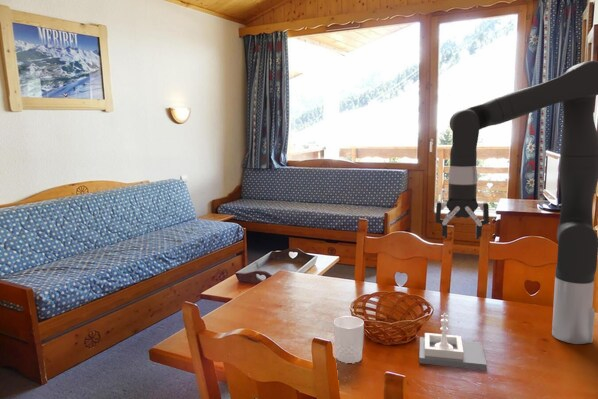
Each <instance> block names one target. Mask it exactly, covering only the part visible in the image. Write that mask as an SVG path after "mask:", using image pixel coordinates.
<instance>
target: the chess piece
mask: <svg viewBox="0 0 598 399" xmlns="http://www.w3.org/2000/svg"><path fill="white" fill-rule="evenodd" d="M440 317H441V319H440V324H441V327H440V328H439V330H440V331H441V334H442V337H441V342H439V343H436V344H435V346H434V347H437V348H447V349H453V346H452V345H450V344H448V342H447V336H446V335H447V331H448V332H449V328H448V327H447V326H448V323H449V319H447V318H449V315H448V314H446V312H444V313H443V314H441V315H440Z"/></svg>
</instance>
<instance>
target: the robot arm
mask: <svg viewBox="0 0 598 399" xmlns="http://www.w3.org/2000/svg"><path fill="white" fill-rule="evenodd" d="M596 96H598V60H587V61H583V62H580V63H578V64H574V65H573V66H571V67H570V68H567V70H566V71H565V72H564V73H563V74H561V75H560V76H557V77H555V78H552V79H549V80H547V81H545V82H542V83H539V84H536V85H532V86H528V87H525V88H522V89H518V90H514V91H512V92H508V93H505V94H503V95H501V96H497V97H494V98H492V99H490V100H487V101H486V102H483V103H481V104H477V105H474V106H469V107H467V108H465V109H464V108H463V109H461V110H458V111H455V113H454V114H453V115H452V116H451V118H450V120H449V127H450V128H449V129H450V130H451V132H452V138H451V139H452V145H451V148H450V151H449V152H450V153H449V169H448V170H449V171H448V178H447V179H448V187H447V188H448V191H447V194H448V196H447V201H446V202H441V201H439V200H438V201H437V202H436V206H435V208H436V210H435V223H437V224H440V225H441V235H442V237H444V239H447V238H448V223H449V222H450V221H451V220H452V219H453V218H458V219H460V218H465V219H468V218H471V219H472V220H473V222H475V240H479V239H480V238H481V237H482V234H483V233H482V231H483V229H482V228H483V226H485V225H488V224H489V223H490V214H489V213H490V212H489V211H490V210H489V203H488V202H487V201H483V202H477V201H478V200H477V191H478V190H477V189H478V188H477V187H478V170H477V160H478V159H477V154H478V151H477V147H478V141H479V134H480V130H482V129H485V128H488V127H491V126H496V125H497V126H498V125H500V124H504V123H506V122H510V121H513V120H515V119H518V118H521V117H524V116H526V115H528V114H531V113H534V112H537V111H539V110H541V109H544V108H547V107H550V106H552V105H553V106H554V105H557V104H559V103H562V113H563V114H562V115H563V118H562V119H563V120H562V128H561V129H562V130H561V145H560V146H561V147H560V158H559V161H560V162H559V163H560V165H559V176H560V177H559V184H560V194H561V196H560V197H561V207H560V214H559V219H558V220H559V221H558V224H557V225H558V226H557V230H556V240H557V259H556V266H555V272H554V274H555V275H554V288H553V289H554V291H553V292H554V293H553V309H552V311H553V312H552V325H551V329H552V330H551V334H552V336H553V337H554V338H555V339H557V340H559V341H561V342H564V343H568V344H574V345H584V344H585V345H586V344H593V340H594V339H593V338H594V327H595V311H596V310H595V308H594V307H593V303H594V302H593V298H594V288H595V287H594V286H595V285H594V284H595V283H594V282H595V275H596V272H597V267H598V233H597V232H596V230H594V224H593V199H594V195H595V194H596V189H597V185H598V131H597V127H596V123H595V119H594V118H595V117H594V116H595V115H594V113H595V112H594V111H595V109H594V108H595V102H596V101H595V99H596ZM445 207H446V208H447V209H448V210H449V212H448V213H447V214H446V215H445V217H444V218H443V219H442V218H441V212H442V211H443V210H445ZM478 208H479V209H480V211H482V218H483V219H479V217H478V216H477V214H475V211H476V210H477V209H478Z"/></svg>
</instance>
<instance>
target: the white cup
mask: <svg viewBox="0 0 598 399" xmlns="http://www.w3.org/2000/svg"><path fill="white" fill-rule="evenodd" d="M364 323H365V321H364V320H363V319H362V318H360V317H357V316H353V315H343V316H340V317H336V318H335V319H334V320H333V333H334V334H333V336H334V345H335V346H334V347H335V351H336V352H335V356H336V360H338V362H340V361H341V362H340V363H342V362H345V363H344V364H347V363H352V364H356V363H355V362H357V363H359V362H360V361H361V360H362V358H363V348H364V331H365V330H364V326H365V324H364Z"/></svg>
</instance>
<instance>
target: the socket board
mask: <svg viewBox="0 0 598 399" xmlns="http://www.w3.org/2000/svg"><path fill="white" fill-rule="evenodd" d="M446 336H447V342H448V344H450V345H452V346H453V349H447V348H437V347H434V346H435V344H436V343H439V342H441V337H442V333H431V332H424V337H423V336H420V337H419V357H418V358H419V361H418V362H419V364H425V365H433V366H443V367H445V366H446V367H452V368H454V367H455V368H462V369H471V370H481V371H482V370H483V371H487V361H486V357H485V353H484V350H483V346H482V342H478V341H477V342H476V341H466V340H462V336H461V335H456V334H455V335H452V334H446Z"/></svg>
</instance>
